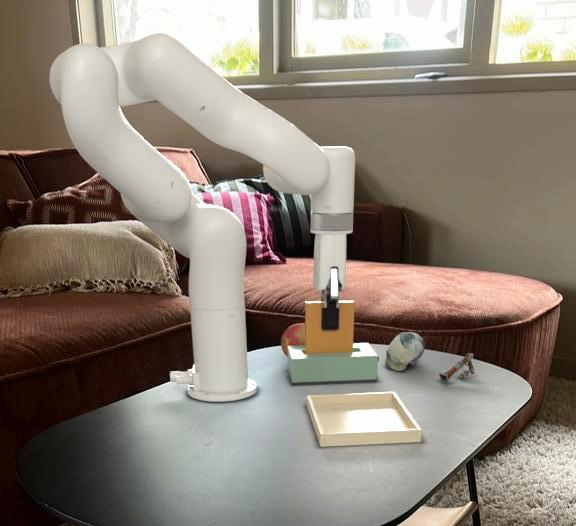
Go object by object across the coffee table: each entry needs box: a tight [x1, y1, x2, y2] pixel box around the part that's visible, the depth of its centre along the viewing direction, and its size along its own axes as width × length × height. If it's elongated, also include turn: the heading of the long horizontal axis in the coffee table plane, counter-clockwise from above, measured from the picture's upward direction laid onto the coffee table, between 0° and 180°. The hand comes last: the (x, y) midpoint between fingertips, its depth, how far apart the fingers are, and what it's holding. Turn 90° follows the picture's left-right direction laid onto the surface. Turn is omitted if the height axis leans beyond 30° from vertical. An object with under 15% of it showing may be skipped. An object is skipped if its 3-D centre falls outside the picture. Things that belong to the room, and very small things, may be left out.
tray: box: [306, 391, 423, 448], centre depth 122 cm, size 15×19×2 cm
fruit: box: [280, 322, 305, 358], centre depth 154 cm, size 8×8×8 cm
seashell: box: [385, 331, 426, 372], centre depth 153 cm, size 6×8×12 cm
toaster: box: [287, 342, 380, 386], centre depth 146 cm, size 17×10×5 cm, turn 95°
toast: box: [304, 300, 356, 354], centre depth 143 cm, size 9×2×10 cm, turn 95°
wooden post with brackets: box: [438, 352, 475, 385], centre depth 143 cm, size 2×8×4 cm, turn 123°
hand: (329, 327), depth 143 cm, fingers closed on toast, 1 cm apart
